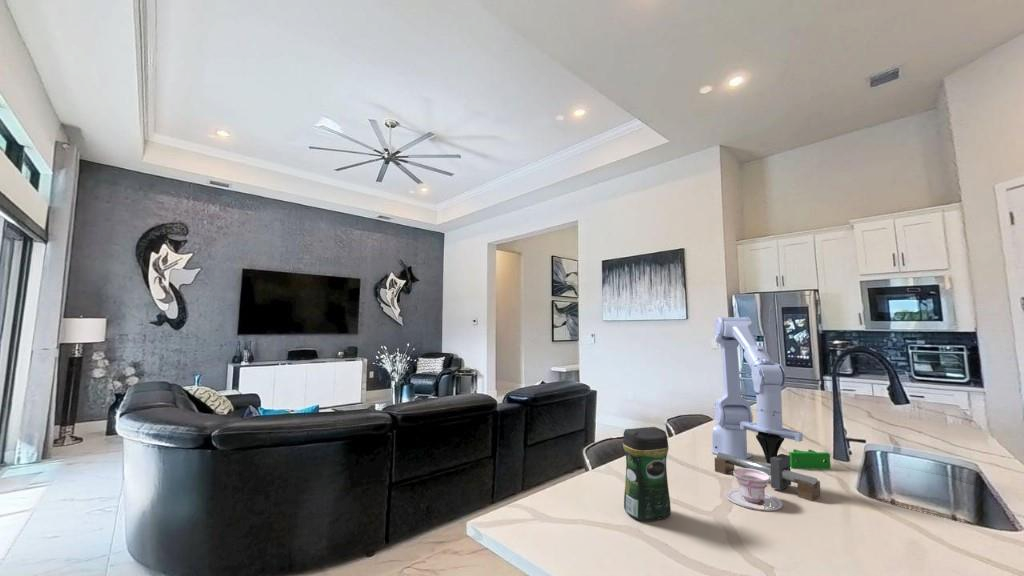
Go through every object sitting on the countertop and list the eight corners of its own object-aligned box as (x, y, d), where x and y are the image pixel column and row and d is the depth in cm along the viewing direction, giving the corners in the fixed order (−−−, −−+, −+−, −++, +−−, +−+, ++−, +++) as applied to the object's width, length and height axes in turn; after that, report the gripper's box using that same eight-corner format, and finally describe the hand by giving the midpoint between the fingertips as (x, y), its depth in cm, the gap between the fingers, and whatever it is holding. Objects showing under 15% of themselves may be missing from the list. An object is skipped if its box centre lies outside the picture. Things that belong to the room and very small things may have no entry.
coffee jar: (654, 503, 98) (652, 422, 100) (676, 518, 91) (675, 431, 92) (617, 508, 95) (616, 425, 97) (637, 525, 88) (636, 434, 89)
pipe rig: (714, 470, 120) (714, 453, 120) (724, 467, 123) (723, 450, 123) (812, 501, 100) (811, 479, 101) (820, 496, 103) (819, 475, 103)
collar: (771, 487, 107) (770, 458, 108) (782, 482, 111) (781, 453, 111) (779, 490, 105) (778, 460, 106) (791, 484, 109) (789, 455, 110)
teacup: (728, 486, 109) (728, 462, 109) (783, 498, 102) (782, 472, 103) (721, 503, 99) (720, 476, 100) (781, 517, 92) (780, 488, 93)
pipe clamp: (821, 465, 126) (821, 449, 126) (830, 469, 122) (830, 453, 123) (783, 464, 126) (783, 448, 127) (791, 468, 123) (791, 452, 123)
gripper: (733, 407, 115) (735, 458, 114) (793, 417, 103) (795, 474, 102) (746, 404, 119) (748, 453, 118) (805, 414, 107) (807, 468, 106)
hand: (771, 463), depth 110 cm, fingers closed
